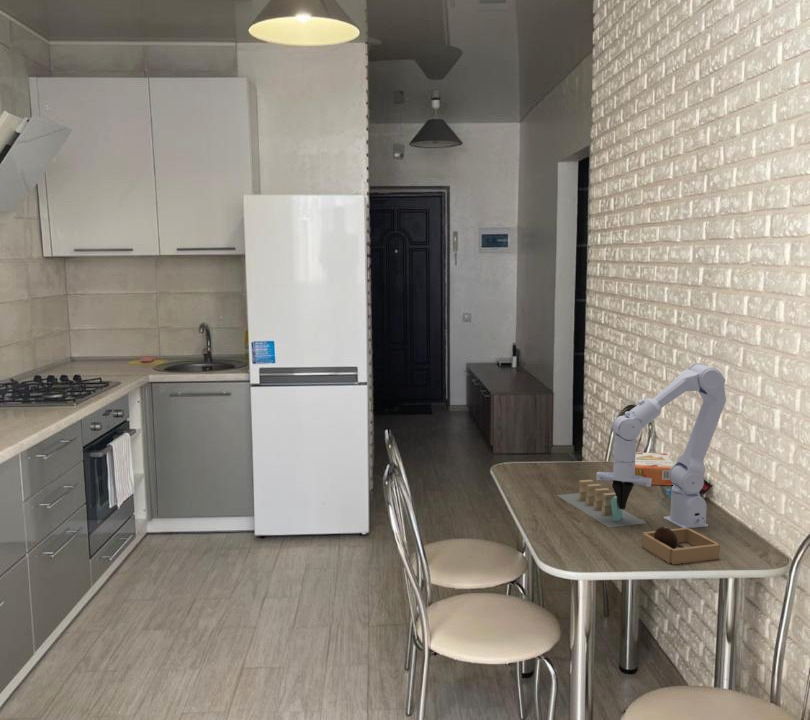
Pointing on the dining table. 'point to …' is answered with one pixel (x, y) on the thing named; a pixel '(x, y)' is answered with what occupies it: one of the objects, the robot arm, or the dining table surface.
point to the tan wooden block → (599, 498)
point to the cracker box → (654, 467)
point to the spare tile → (616, 509)
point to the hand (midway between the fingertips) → (622, 508)
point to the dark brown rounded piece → (667, 537)
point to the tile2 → (607, 503)
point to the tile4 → (591, 493)
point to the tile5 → (583, 489)
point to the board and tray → (700, 551)
